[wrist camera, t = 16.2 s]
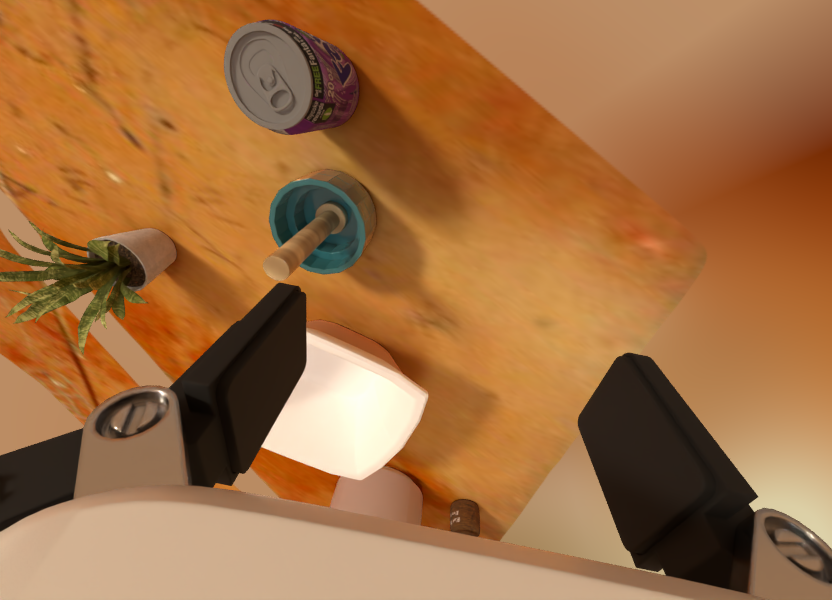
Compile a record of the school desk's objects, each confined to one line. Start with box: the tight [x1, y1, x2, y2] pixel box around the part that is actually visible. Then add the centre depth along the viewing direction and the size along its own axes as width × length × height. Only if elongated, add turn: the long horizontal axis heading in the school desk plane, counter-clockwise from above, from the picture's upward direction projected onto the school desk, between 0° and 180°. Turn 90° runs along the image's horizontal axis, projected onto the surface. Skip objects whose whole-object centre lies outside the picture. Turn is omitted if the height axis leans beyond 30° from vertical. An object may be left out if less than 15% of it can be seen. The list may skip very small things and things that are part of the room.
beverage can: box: [224, 20, 359, 135], centre depth 28 cm, size 7×7×12 cm
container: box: [330, 466, 423, 526], centre depth 64 cm, size 18×18×12 cm
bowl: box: [261, 320, 428, 480], centre depth 47 cm, size 24×25×11 cm
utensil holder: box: [450, 500, 480, 537], centre depth 64 cm, size 6×6×12 cm
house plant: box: [0, 220, 177, 354], centre depth 37 cm, size 14×14×16 cm
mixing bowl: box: [269, 169, 376, 274], centre depth 37 cm, size 10×10×6 cm
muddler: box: [263, 201, 348, 281], centre depth 33 cm, size 4×4×15 cm
